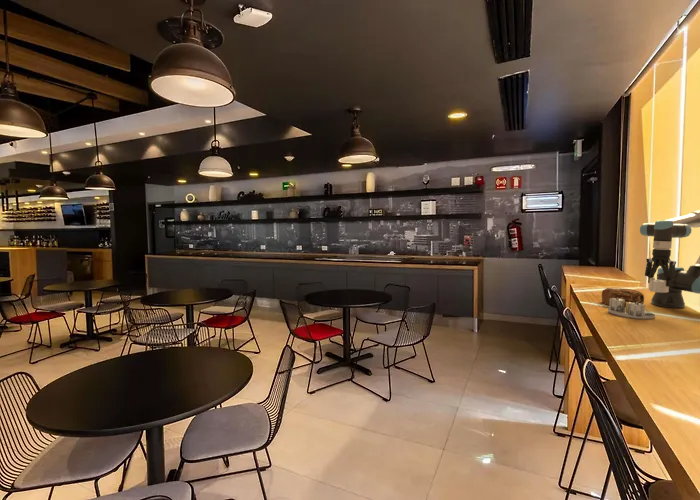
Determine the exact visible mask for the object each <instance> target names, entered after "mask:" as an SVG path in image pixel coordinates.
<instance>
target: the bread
mask: <svg viewBox="0 0 700 500" xmlns="http://www.w3.org/2000/svg"><path fill="white" fill-rule="evenodd" d="M611 298H620V299H623V300H625V307H626V302H632V303H640V304H644V302H645V296H644V293H643V292H641V291H639V290H636V289H629V288H622V287H620V288H619V287H618V288H611V287H610V288H609V287H607V288H604V289H603V290H601V302H602V303H603V304H605V305H606V306H610V299H611Z"/></svg>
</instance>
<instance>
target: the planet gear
mask: <svg viewBox="0 0 700 500" xmlns="http://www.w3.org/2000/svg"><path fill="white" fill-rule="evenodd" d="M663 285H664V280H657V279H656V278H655V279H654V280H651V282H650V290H649V291H650V292H654V293H655V292H661V293H664V292H663ZM665 293H666V292H665Z"/></svg>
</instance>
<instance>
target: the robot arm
mask: <svg viewBox="0 0 700 500" xmlns="http://www.w3.org/2000/svg"><path fill="white" fill-rule="evenodd" d="M692 228H700V209H699V210H694V211H691V212H689V213H688V214H686V215H682V216H677V217H673V218H669V219H666V220H662V219H661V220H656V221H655V222H646V223H642V224H641V226H640V227H639V233H640V235H642V236H645V237H653V239H652V240H653V243H652V248H653V249H652V251H651V252H652V253H651V254H652V256H651V257H652V258H646V264H645V265H646V267H645V272H644V276H645V277H647V278H648V280H647V284H649V285H648V290H649V291H650V282H651V280H654V279H655V280H664V285H663V292H664V293H661V292H654V294H653V295H652V298H651V299H650V300H651V301H650V303H651V305H653V306H657V307H663V308H672V309H683V308H685V307H686V305H685V304H686V303H685V300H684V297H683V293H682V292H683V291H684V292H689V293H693V294H697V295H700V255H698V258H697V260H696V262H695V264H693V265H690V266H689V267H688V269H687V270H685V269H684V268H685V267H682V266H681V267H679V266H676V265H677V261H676V260H671V258H670V257H672V256H671V255H672V254H671V253H672V250H671V249H672V245H673V244H672V243H673V239H674V238H675V239H677V238H679V239H683V238H686V237H689V236H690V235H691V234H692ZM655 275H656V277H655ZM665 292H666V293H665Z"/></svg>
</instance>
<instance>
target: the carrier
mask: <svg viewBox="0 0 700 500" xmlns="http://www.w3.org/2000/svg"><path fill="white" fill-rule="evenodd" d="M608 306H609V308H608V313H609V314H611V315H614V316H616V317H622V318H626V319H632V320H653V319H655V314H654V313H652V312H650V311H647V310H646V304H644V303H643V304H640V303H632V302H626V306H625V300H623V299H620V298H611V299H610V305H608Z"/></svg>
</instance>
